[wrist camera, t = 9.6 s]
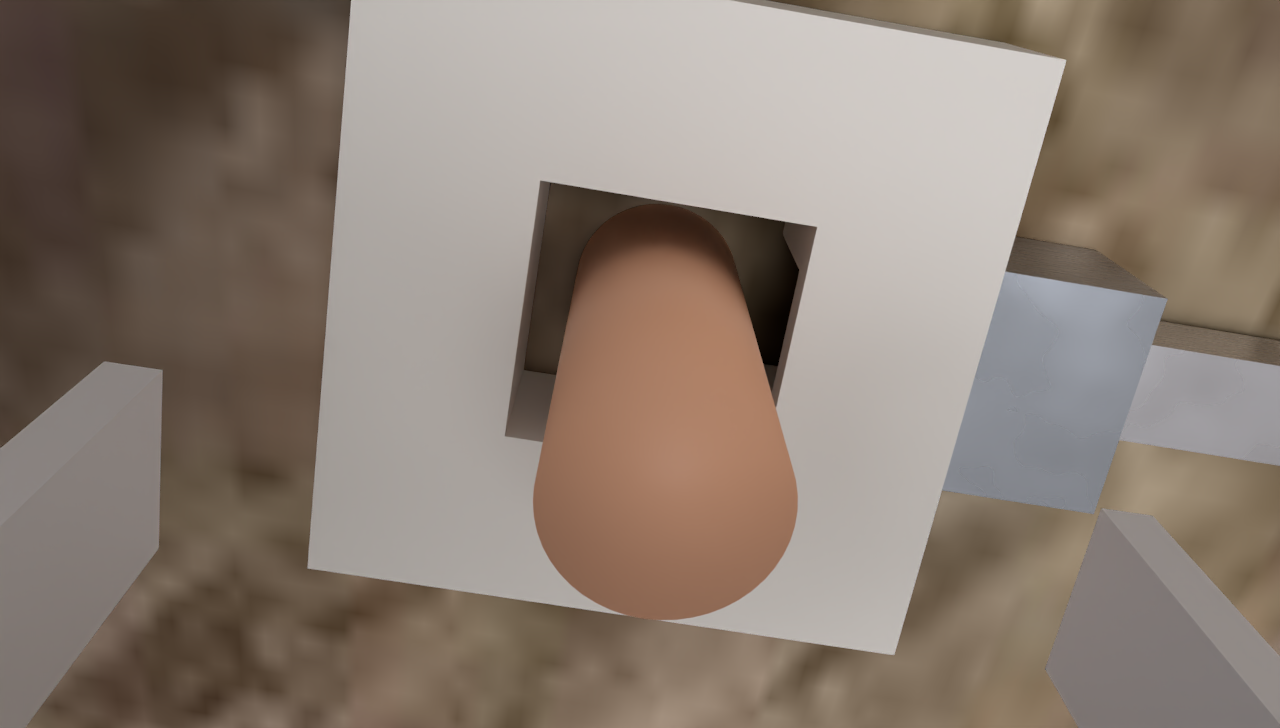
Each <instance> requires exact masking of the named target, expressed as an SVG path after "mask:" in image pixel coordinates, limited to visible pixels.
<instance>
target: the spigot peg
mask: <svg viewBox="0 0 1280 728" xmlns="http://www.w3.org/2000/svg"><path fill="white" fill-rule="evenodd" d="M797 511H798V492H797V484H796V478H795V475H794V471H793V467H792V464H791V460H790V457H789V453H788V450H787V446H786V443H785V439H784V436H783V432H782V429H781V425H780V421H779V418H778V414H777V411H776V407H775V404H774V400H773V397H772V393H771V390H770V386H769V383H768V379H767V376H766V372H765V369H764V365H763V361H762V358H761V354H760V351H759V347H758V344H757V340H756V337H755V333H754V330H753V326H752V323H751V319H750V316H749V312H748V309H747V305H746V301H745V298H744V294H743V291H742V287H741V284H740V280H739V277H738V273H737V270H736V266H735V263H734V259H733V256H732V253H731V251H730V249H729V247H728V245H727V243H726V242H725V240H724V238H723V237H722V236H721V234H720V233H719V232H718V231H717V230H716V229H715V228H714V227H713V226H712V225H711V224H710V223H709V222H708V221H706V220H705V219H703V218H702V217H701V216H699V215H697V214H695V213H693V212H691V211H689V210H686V209H683V208H680V207H676V206H672V205H664V204H649V205H643V206H638V207H634V208H631V209H628V210H625V211H623V212H621V213H619V214H617V215H615V216H614V217H612V218H610V219H609V220H608V221H607V222H605V223H604V224H603V225H602V226H601V227H600V228H599V229H598V230H597V231H596V232H595V233H594V234H593V236H592V237H591V238H590V240H589V241H588V243H587V245H586V247H585V248H584V250H583V253H582V255H581V258H580V261H579V266H578V270H577V275H576V280H575V285H574V290H573V295H572V300H571V305H570V310H569V315H568V320H567V325H566V330H565V335H564V340H563V345H562V350H561V355H560V359H559V364H558V369H557V374H556V379H555V384H554V389H553V394H552V399H551V404H550V409H549V414H548V419H547V424H546V429H545V434H544V439H543V444H542V449H541V454H540V459H539V464H538V469H537V474H536V479H535V484H534V493H533V512H534V520H535V525H536V529H537V533H538V536H539V539H540V541H541V544H542V547H543V549H544V550H545V552H546V554H547V556H548V558H549V560H550V561H551V563H552V564H553V565H554V567H555V568H556V569H557V571H558V572H559V573H560V575H561V576H562V577H563V578H564V579H565V580H566V581H567V582H568V583H569V584H570V585H571V586H572V587H574V588H575V589H576V590H577V591H579V592H580V593H581V594H582V595H584V596H586V597H587V598H589V599H590V600H592V601H594V602H595V603H597V604H599V605H601V606H603V607H605V608H608V609H610V610H612V611H615V612H618V613H621V614H624V615H628V616H633V617H637V618H642V619H652V620H678V619H686V618H693V617H697V616H701V615H705V614H709V613H711V612H714V611H717V610H719V609H722V608H724V607H726V606H728V605H730V604H732V603H734V602H736V601H738V600H739V599H741V598H742V597H744V596H745V595H747V594H748V593H750V592H751V591H753V590H754V589H755V588H756V587H757V586H758V585H759V584H760V583H762V582H763V581H764V580H765V579H766V578H767V576H768V575H769V574H770V573H771V572H772V571H773V570H774V568H775V567H776V565H777V564H778V562H779V561H780V559H781V558H782V556H783V555H784V553H785V551H786V549H787V547H788V545H789V542H790V540H791V537H792V534H793V531H794V528H795V523H796V517H797Z"/></svg>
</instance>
